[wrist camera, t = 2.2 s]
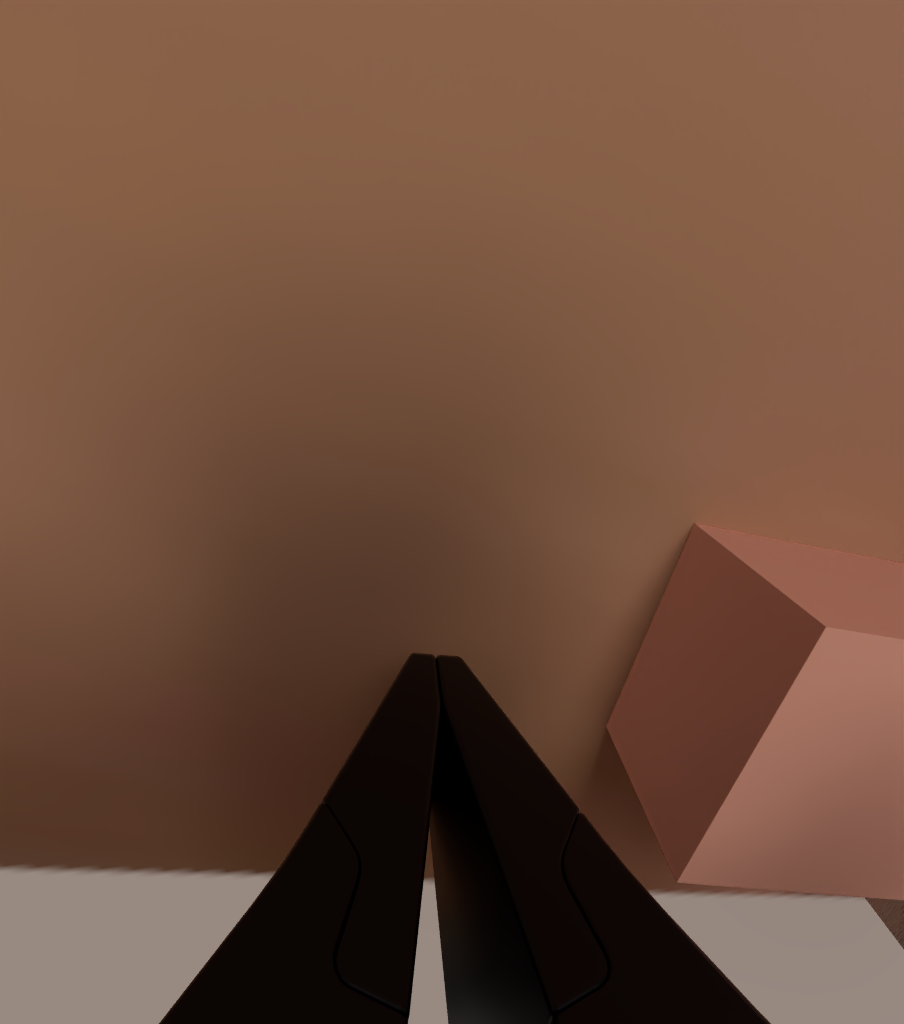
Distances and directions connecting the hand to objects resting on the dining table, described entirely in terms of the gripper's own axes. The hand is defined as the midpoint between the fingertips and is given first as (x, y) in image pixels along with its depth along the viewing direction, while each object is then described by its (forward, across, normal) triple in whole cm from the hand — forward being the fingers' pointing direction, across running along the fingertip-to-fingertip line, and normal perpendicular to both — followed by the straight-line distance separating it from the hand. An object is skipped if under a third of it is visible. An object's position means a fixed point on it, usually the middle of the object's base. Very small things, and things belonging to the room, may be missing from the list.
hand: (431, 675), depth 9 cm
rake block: (+2, -8, 0) cm, 8 cm away
